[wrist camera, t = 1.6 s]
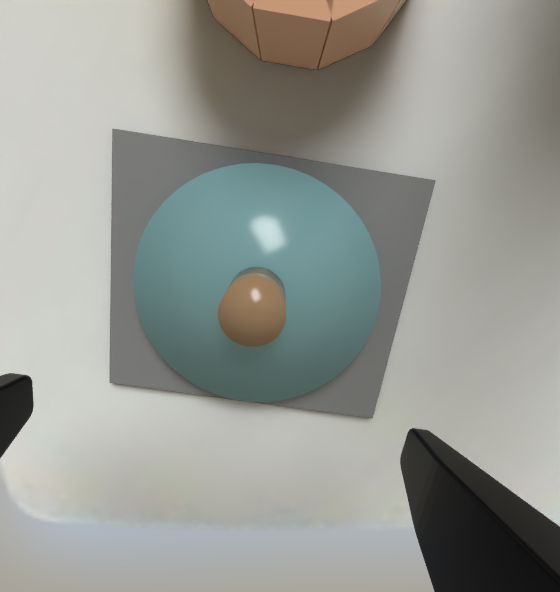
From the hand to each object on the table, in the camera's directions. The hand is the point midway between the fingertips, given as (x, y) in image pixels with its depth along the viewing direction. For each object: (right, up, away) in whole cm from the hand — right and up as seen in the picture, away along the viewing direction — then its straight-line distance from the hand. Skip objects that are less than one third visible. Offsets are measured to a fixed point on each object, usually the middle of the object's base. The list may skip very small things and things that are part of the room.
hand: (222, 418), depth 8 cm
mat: (0, +3, +11) cm, 12 cm away
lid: (0, +3, +11) cm, 11 cm away
